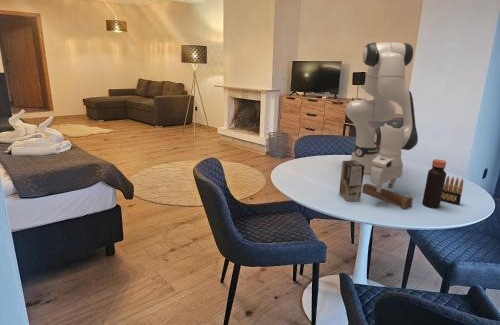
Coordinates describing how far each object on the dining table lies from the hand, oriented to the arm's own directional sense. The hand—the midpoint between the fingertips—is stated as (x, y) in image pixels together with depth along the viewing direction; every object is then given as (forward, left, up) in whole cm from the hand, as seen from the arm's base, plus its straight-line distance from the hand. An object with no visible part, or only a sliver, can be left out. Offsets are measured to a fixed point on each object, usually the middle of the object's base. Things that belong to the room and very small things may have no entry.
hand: (384, 189), depth 149 cm
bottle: (-11, +16, -5) cm, 20 cm away
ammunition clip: (-21, +18, -5) cm, 28 cm away
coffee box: (+11, -10, -5) cm, 16 cm away
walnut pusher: (-1, 0, -5) cm, 5 cm away
